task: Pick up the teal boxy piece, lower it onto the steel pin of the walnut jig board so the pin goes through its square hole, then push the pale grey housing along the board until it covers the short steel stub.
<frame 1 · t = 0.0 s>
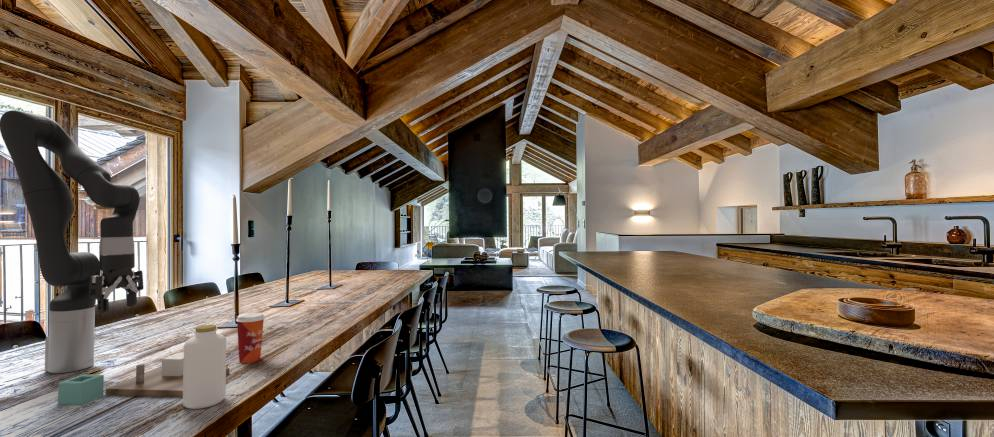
hand: (117, 309, 120), 17 cm above the table, tool pointing down, fingers open, 8 cm apart
pin base: (171, 383, 110), on the table
paper cup: (250, 360, 129), on the table
teal boxy piece: (81, 399, 99), on the table
white plastic bottle: (204, 403, 98), on the table
housing: (178, 364, 113), point 4 cm above the table, slide at 0.0 cm
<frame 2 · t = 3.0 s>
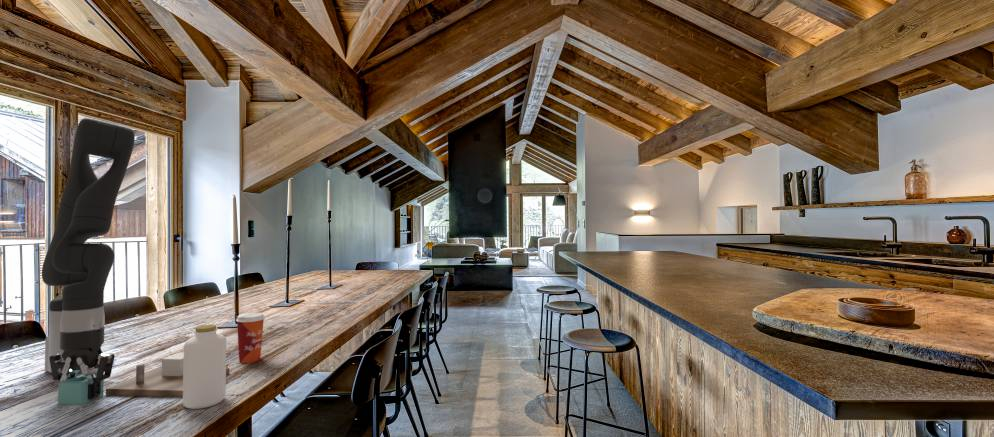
hand: (81, 397, 99), 0 cm above the table, tool pointing down, fingers closed on teal boxy piece, 5 cm apart
teal boxy piece: (81, 399, 99), on the table, touching gripper
everything else where it was.
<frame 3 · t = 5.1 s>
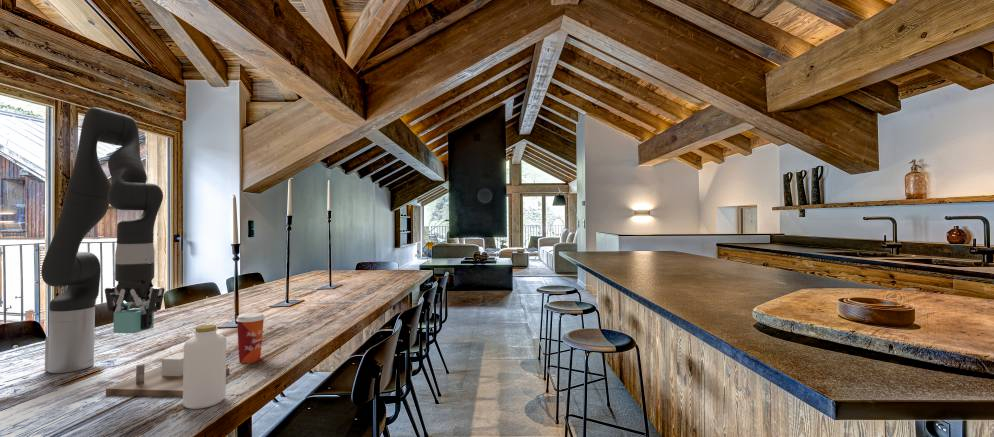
hand: (134, 328, 105), 16 cm above the table, tool pointing down, fingers closed on teal boxy piece, 5 cm apart
teal boxy piece: (134, 330, 105), point 15 cm above the table, touching gripper
everything else where it was.
when the fingers open (3 cm above the table, at t = 7.4 s): teal boxy piece drops 1 cm, resting on pin base.
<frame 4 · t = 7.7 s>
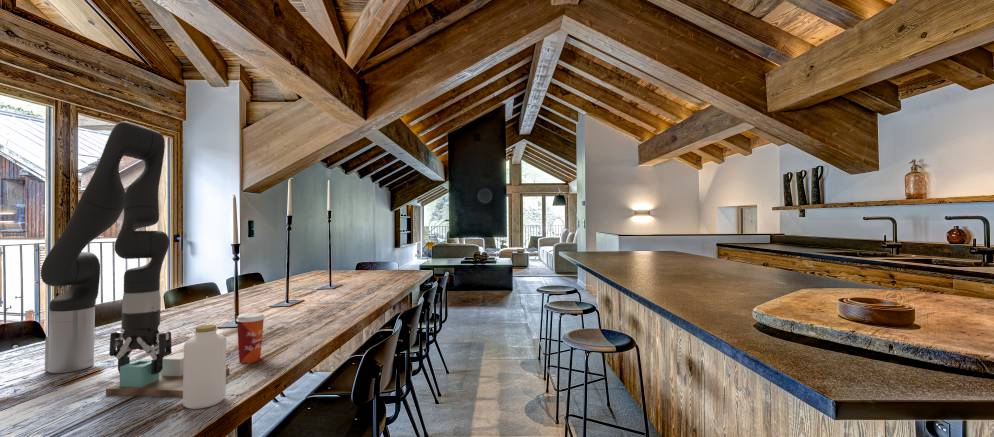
hand: (140, 372, 106), 4 cm above the table, tool pointing down, fingers open, 8 cm apart
teal boxy piece: (139, 382, 106), point 1 cm above the table, touching pin base
everything else where it was.
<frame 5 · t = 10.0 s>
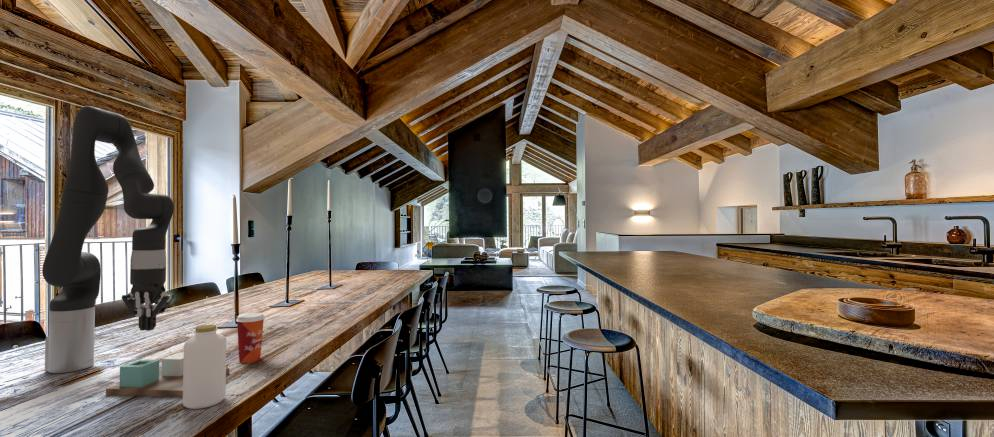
hand: (147, 329, 114), 13 cm above the table, tool pointing down, fingers closed
nothing on the table moved.
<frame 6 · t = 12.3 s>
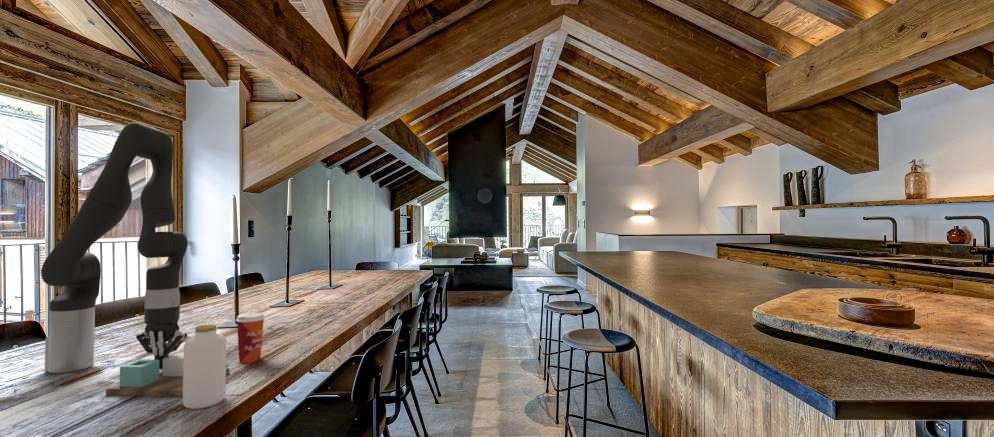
hand: (161, 368, 113), 3 cm above the table, tool pointing down, fingers closed
housing: (179, 364, 113), point 4 cm above the table, slide at 0.2 cm, touching gripper
everything else where it was.
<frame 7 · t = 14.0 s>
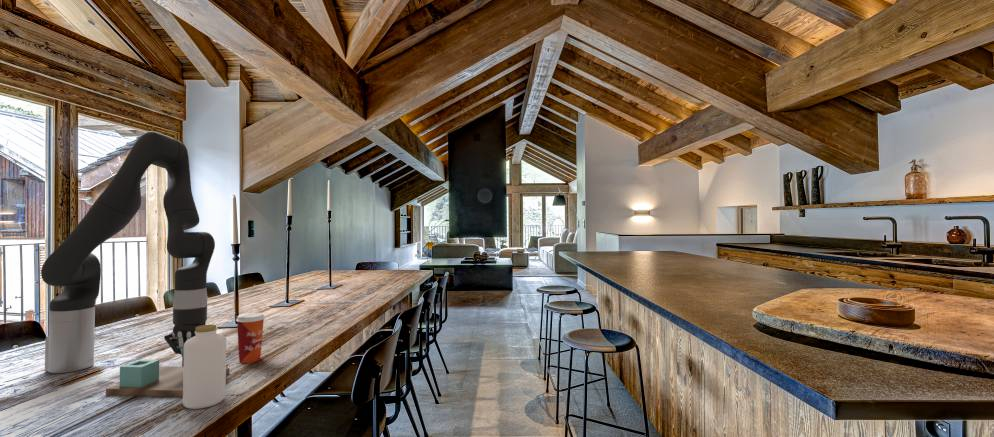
hand: (189, 368, 113), 3 cm above the table, tool pointing down, fingers closed
housing: (207, 364, 113), point 4 cm above the table, slide at 8.0 cm, touching gripper
everything else where it was.
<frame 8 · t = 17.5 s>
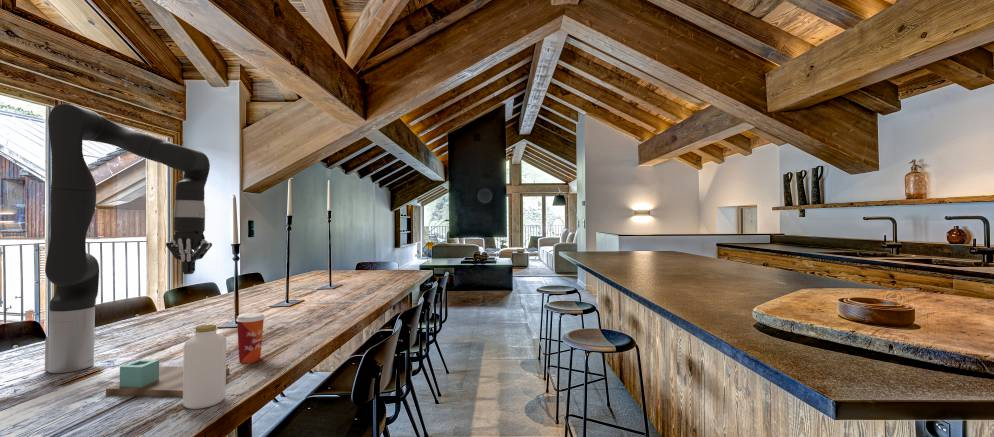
hand: (188, 273, 124), 27 cm above the table, tool pointing down, fingers closed
housing: (207, 364, 113), point 4 cm above the table, slide at 8.0 cm
everything else where it was.
at the end: teal boxy piece 0.1 cm from the target spot on the pin base, point 1.5 cm above the pin base's base; housing slide at 8.0 cm; the gripper is holding nothing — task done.
